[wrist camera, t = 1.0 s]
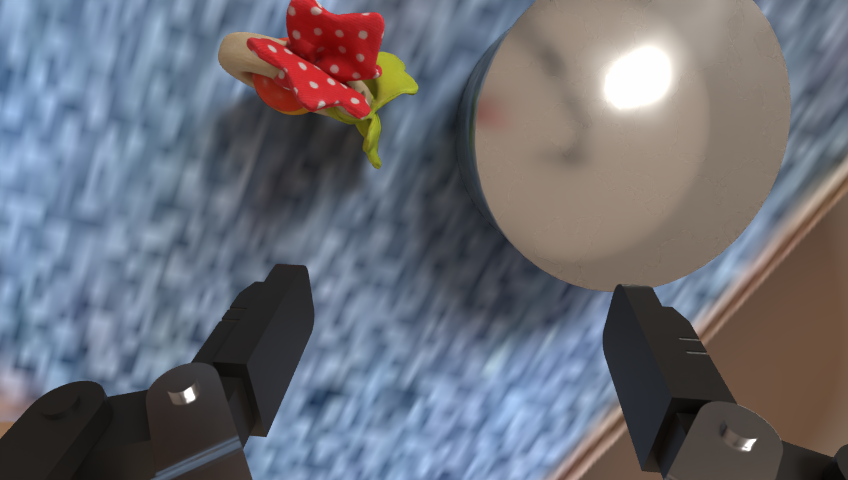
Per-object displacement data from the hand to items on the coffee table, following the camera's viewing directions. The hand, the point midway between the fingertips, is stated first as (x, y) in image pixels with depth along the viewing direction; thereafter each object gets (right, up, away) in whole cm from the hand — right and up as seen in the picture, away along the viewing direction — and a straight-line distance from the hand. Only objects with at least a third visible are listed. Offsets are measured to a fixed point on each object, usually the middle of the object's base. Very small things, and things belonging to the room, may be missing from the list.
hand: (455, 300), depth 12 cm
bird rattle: (-6, +10, +15) cm, 19 cm away
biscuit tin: (+9, +8, +16) cm, 20 cm away
